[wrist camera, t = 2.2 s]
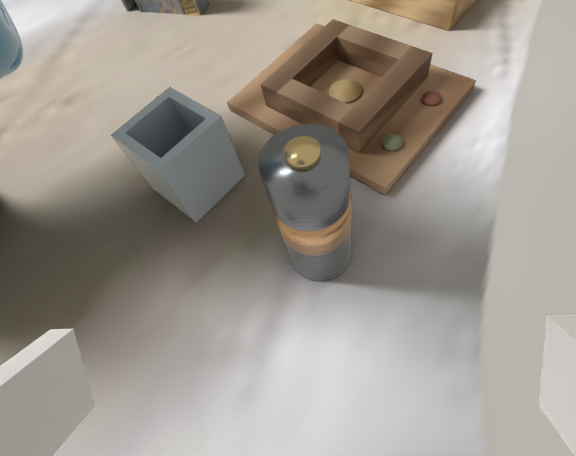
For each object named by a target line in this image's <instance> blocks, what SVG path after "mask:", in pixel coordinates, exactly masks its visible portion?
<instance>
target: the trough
mask: <svg viewBox="0 0 576 456" xmlns="http://www.w3.org/2000/svg"><path fill="white" fill-rule="evenodd" d="M351 1H354V2H357V3H361V4H364V5H367V6H370V7H374V8H377V9H380V10H383V11H387V12H390V13H393V14H396V15H399V16H403V17H406V18H409V19H412V20H416V21H419V22H422V23H425V24H429V25H432V26H435V27H438V28H442V29H445V30H448V31H449V30H450V29H451V28H452V27H453V25H454V24H455V23H456V22H457V21H458V20H459V19H460V18H461V17H462V16H463V15H464V14H465V13H466V12H467V10H468V9H469V8H470V7H471V6H472V5H473V4H474V3H475V2H476V1H477V0H351Z"/></svg>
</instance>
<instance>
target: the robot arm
mask: <svg viewBox="0 0 576 456" xmlns="http://www.w3.org/2000/svg"><path fill="white" fill-rule="evenodd" d="M22 59H23V46H22V43H21V39H20V37H19V34H18V32H17V30H16V28H15V25H14V23H13V21H12V19H11V17H10V16H9V14H8V12H7V10H6V8H5V7H4V5H3V3H2V1H1V0H0V79H1V78H3V77H5V76H6V75H8V74H10V73H12V72H13V71H15V70H16V69H17V68H18V67H19V65H20V64H21V62H22ZM94 406H95V405H94V402H93V398H92V394H91V391H90V387H89V383H88V380H87V376H86V372H85V369H84V365H83V361H82V358H81V354H80V350H79V347H78V343H77V339H76V336H75V332H74V329H50V330H49V331H48V332H46V333H45V334H43V335H42V336H41V337H39V338H38V339H37V340H35V341H34V342H32V343H31V344H30V345H28V346H27V347H26V348H24V349H23V350H21V351H20V352H19V353H17V354H16V355H15V356H13V357H12V358H10V359H9V360H8V361H6V362H5V363H3V364H2V365H1V366H0V456H52V455H53V454H54V453H55V452H56V451H57V449H58V448H59V447H60V446H61V445H62V444H63V442H64V441H65V440H66V439H67V438H68V436H69V435H70V434H71V433H72V432H73V431H74V429H75V428H76V427H77V426H78V425H79V423H80V422H81V421H82V420H83V419H84V418H85V416H86V415H87V414H88V413H89V412H90V411H91V409H92V408H93V407H94ZM539 408H540V409H541V410H542V412H543V413H544V414H545V416H546V417H547V418H548V420H549V421H550V423H551V424H552V425H553V427H554V428H555V430H556V431H557V432H558V434H559V435H560V437H561V438H562V439H563V441H564V442H565V443H566V445H567V446H568V448H569V449H570V450H571V452H572V453H573V455H574V456H576V313H575V314H546V324H545V336H544V348H543V360H542V372H541V385H540V396H539Z"/></svg>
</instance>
